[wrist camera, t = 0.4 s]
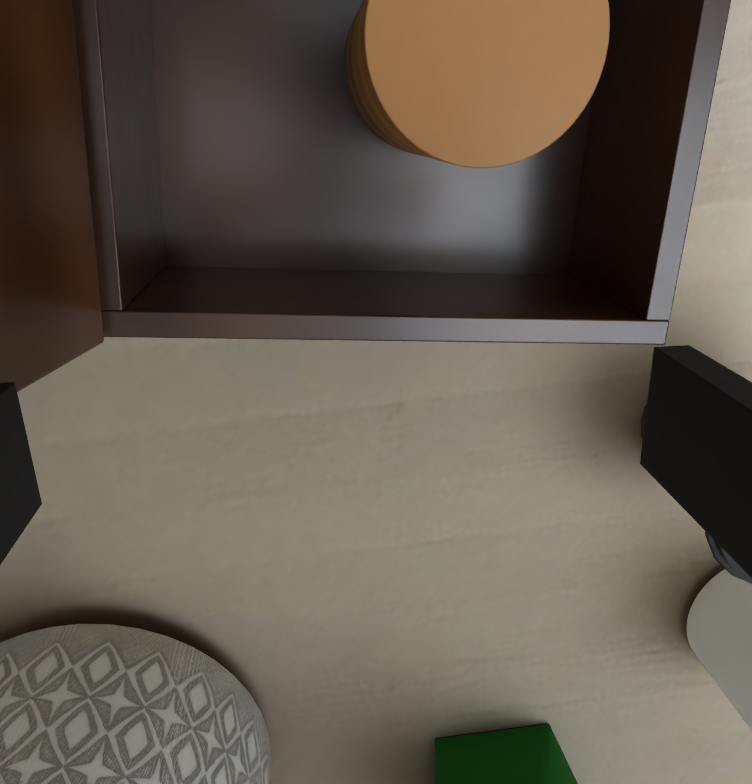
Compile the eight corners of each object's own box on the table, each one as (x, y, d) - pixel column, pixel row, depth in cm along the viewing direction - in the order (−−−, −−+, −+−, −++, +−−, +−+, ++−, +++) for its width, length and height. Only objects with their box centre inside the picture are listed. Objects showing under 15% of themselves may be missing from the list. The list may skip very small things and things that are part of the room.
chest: (645, -191, 27) (794, -327, 19) (576, 290, 34) (665, 345, 26) (114, -242, 25) (22, -420, 17) (150, 281, 32) (96, 337, 24)
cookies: (346, -41, 27) (368, -123, 18) (523, -28, 28) (629, -101, 19) (342, 151, 30) (359, 163, 21) (505, 158, 31) (590, 172, 21)
